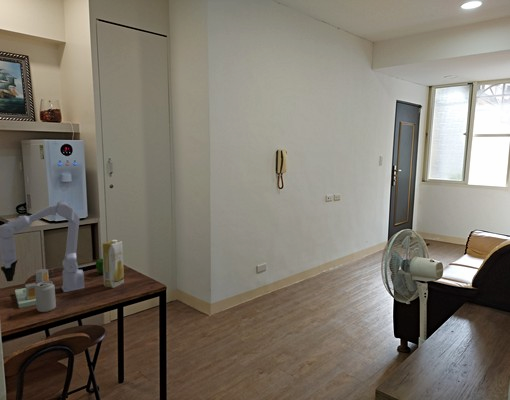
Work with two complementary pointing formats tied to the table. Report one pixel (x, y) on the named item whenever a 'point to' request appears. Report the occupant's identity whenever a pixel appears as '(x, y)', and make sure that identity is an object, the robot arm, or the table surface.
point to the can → (45, 296)
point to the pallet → (23, 298)
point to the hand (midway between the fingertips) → (10, 278)
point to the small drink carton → (42, 275)
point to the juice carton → (113, 263)
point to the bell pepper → (99, 265)
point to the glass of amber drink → (30, 291)
